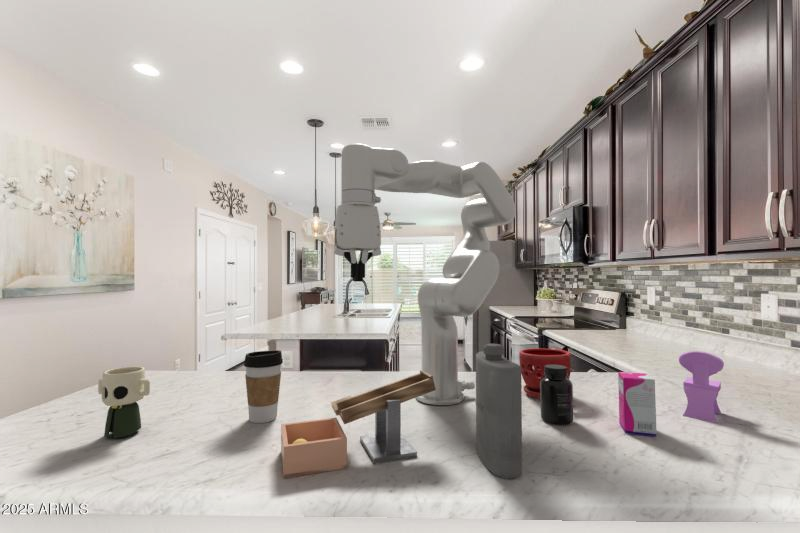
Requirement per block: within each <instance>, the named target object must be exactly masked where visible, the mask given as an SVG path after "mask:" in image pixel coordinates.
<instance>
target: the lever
mask: <svg viewBox="0 0 800 533" xmlns="http://www.w3.org/2000/svg"><path fill="white" fill-rule="evenodd" d="M434 390H436V388H435V384H434V380H433V376H432V375H430V374H429V373H427V372H425V371H424V370H422V369H421V370H419V372H418V373H415V374H413V375H410V376H407V377H404V378H401V379H399V380H395V381H393V382H390V383H387V384H385V385H382V386H379V387H376V388H373V389H371V390H368V391H364V392H362V393H358V394H357V395H353V396H351V395H347V396H345V397H343V398H339V399H336V400H334V401H331V403H330V405H331V408H332V409H333V412H334V414H335V416H339V417H340V419H341V421H342V423H343V424H344V425H346V424H350V423H352V422H355V421H357V420H360V419H362V418H365V417H368V416H370V415H371V416H372V415H373V414H375V413H376V412H379V411H381V410H384V409H386V400H391V399H400V400H401V404H402V403H406V402H407V401H411V400H414V399H416V397H419V396H421V395H424V394H427V393H429V392H432V391H434Z"/></svg>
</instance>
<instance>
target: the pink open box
mask: <svg viewBox="0 0 800 533" xmlns="http://www.w3.org/2000/svg"><path fill="white" fill-rule="evenodd" d="M342 427H343V426H341V424H340V422H339V420H338V418H337V417H328V418H321V419H312V420H304V421H296V422H287V423H281V424H280V456H281V466H282V474H283V479H291V478H296V477H301V476H307V475H308V476H309V475H313V474H320V473H326V472H327V473H328V472H331V471H338V470H339V471H340V470H344V469H348V437H347V436H346V433H345V432H344V430H343V428H342ZM297 439H305V440H306V441H307V442H303V443H296V444H293V442H294V441H295V440H297Z"/></svg>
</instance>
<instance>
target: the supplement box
mask: <svg viewBox="0 0 800 533" xmlns="http://www.w3.org/2000/svg"><path fill="white" fill-rule="evenodd" d="M617 374H618V378H617V380H618V411H619V412H618V417H619V418H618V420H619V421H618V422H619V425H620V427H621V428H622V430H623V432H624V434H626V433H629V434H628V435H636V434H637V436H645V437H646V436H647V437H655V438H656V437H657V408H656V406H657V405H656V379H655V378H653V377H652V376H651V375H650V374H648V373H644V372H642V373H640V372H625V371H618V373H617Z"/></svg>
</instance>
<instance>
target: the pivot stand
mask: <svg viewBox="0 0 800 533" xmlns="http://www.w3.org/2000/svg"><path fill="white" fill-rule="evenodd" d="M401 404H402V403H401V400H400V399H391V400H386V409H384V410H381V411H379V412H376V413H374V415H375V417H374V420H375V422H374V423H375V425H374V426H375V427H374V434H366V435H361V436H359V437H360V438H359V441H360V443H361V444H362V446H363V448H364V449H365V451H366V453H367V455H368V456H369V458H370V460H371V461H372V463H373V464H378V463H384V462H390V461H392V462H393V461H397V460H404V459H410V458H416V457H418V451H416V449H415V448H414V447H413V446H412V444H411V443H410V442H409V441H408V440H407V439H406V438H405V437H404V436H403V434H402V433H401V425H402V424H401V418H402V417H401V411H402V410H401V409H402V408H401Z"/></svg>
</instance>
